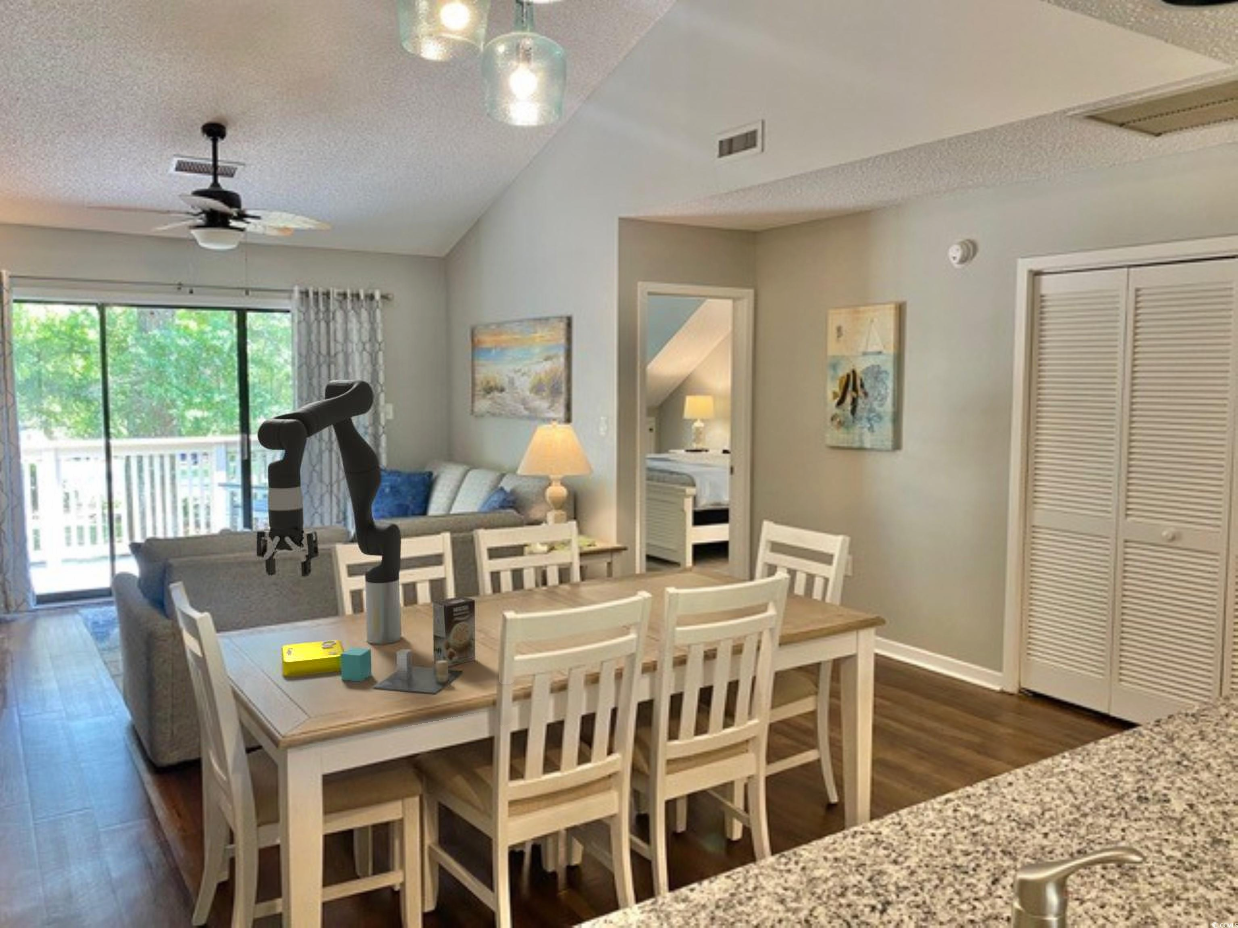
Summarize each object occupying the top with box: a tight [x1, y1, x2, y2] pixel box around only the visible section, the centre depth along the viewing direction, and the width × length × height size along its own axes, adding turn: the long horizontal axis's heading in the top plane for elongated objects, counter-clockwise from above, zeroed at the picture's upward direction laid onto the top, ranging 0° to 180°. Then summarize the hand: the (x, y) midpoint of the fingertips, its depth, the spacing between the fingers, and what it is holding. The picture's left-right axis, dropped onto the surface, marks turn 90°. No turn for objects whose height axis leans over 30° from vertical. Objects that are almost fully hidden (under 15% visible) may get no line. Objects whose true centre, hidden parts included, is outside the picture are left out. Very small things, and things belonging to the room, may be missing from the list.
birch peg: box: [435, 661, 449, 683], centre depth 222 cm, size 3×3×5 cm
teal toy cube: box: [340, 647, 372, 682], centre depth 225 cm, size 5×5×7 cm
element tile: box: [280, 639, 345, 677], centre depth 235 cm, size 15×15×5 cm
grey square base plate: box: [373, 648, 464, 695], centre depth 223 cm, size 16×16×7 cm
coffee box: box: [432, 596, 476, 667], centre depth 237 cm, size 9×6×16 cm
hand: (288, 575), depth 211 cm, fingers open, 8 cm apart
